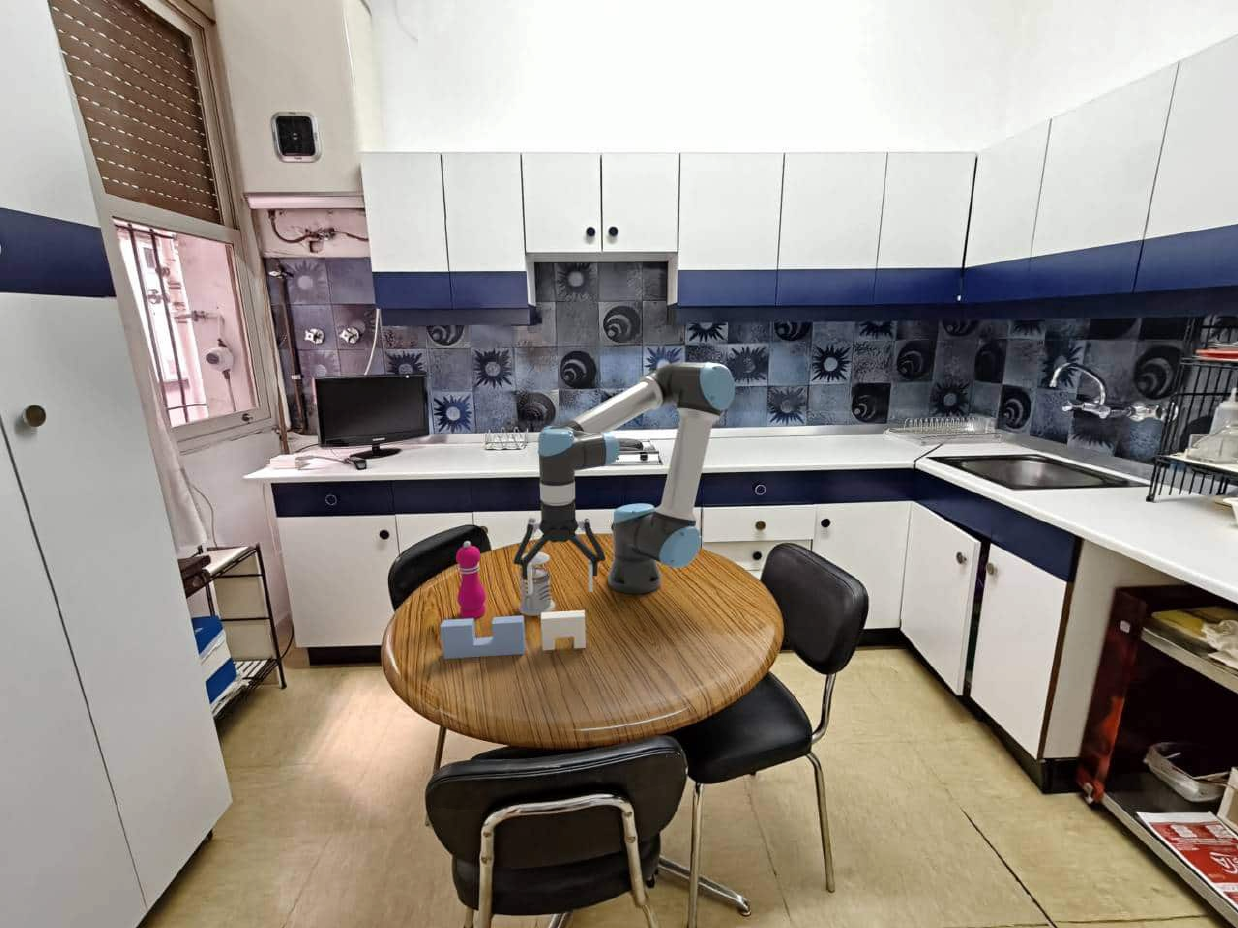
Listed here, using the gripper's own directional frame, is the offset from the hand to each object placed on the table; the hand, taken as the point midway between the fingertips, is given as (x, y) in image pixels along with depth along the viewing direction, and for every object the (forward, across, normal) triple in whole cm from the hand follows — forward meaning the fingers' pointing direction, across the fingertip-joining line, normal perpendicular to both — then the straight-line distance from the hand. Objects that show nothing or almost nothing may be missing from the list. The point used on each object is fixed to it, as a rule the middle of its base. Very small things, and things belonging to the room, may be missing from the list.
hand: (560, 590), depth 123 cm
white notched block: (+14, 0, 0) cm, 14 cm away
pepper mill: (+14, +24, -18) cm, 33 cm away
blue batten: (+14, +18, +1) cm, 23 cm away
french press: (+14, +8, -19) cm, 25 cm away
